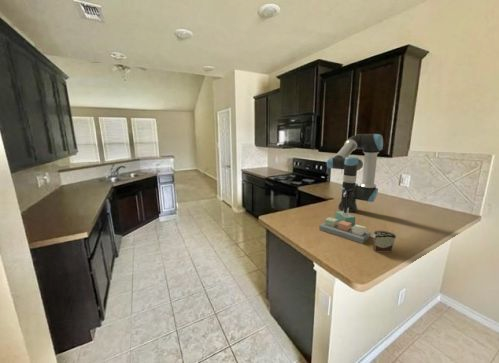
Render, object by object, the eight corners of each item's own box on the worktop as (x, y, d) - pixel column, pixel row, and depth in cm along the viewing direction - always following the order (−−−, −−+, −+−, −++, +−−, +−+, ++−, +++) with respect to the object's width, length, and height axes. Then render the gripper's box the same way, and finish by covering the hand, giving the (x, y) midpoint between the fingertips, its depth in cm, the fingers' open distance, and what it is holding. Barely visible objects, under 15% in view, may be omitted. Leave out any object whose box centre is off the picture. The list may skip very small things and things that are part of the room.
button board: (328, 223, 160) (328, 220, 160) (370, 236, 141) (370, 232, 140) (319, 229, 150) (319, 225, 150) (362, 243, 131) (363, 239, 131)
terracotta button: (341, 226, 149) (342, 220, 148) (350, 228, 145) (351, 223, 144) (337, 228, 145) (338, 222, 144) (347, 231, 141) (347, 225, 140)
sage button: (328, 222, 155) (329, 217, 155) (337, 224, 151) (337, 219, 150) (325, 224, 151) (325, 219, 150) (333, 227, 147) (333, 221, 146)
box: (345, 227, 154) (346, 217, 153) (334, 220, 167) (334, 211, 166) (354, 226, 156) (355, 216, 154) (342, 219, 169) (343, 210, 167)
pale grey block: (355, 230, 143) (356, 224, 142) (365, 233, 139) (366, 227, 138) (351, 232, 139) (352, 227, 138) (361, 235, 135) (362, 229, 134)
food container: (386, 245, 129) (389, 230, 127) (394, 251, 123) (396, 234, 121) (366, 246, 129) (368, 230, 126) (372, 251, 123) (374, 235, 120)
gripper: (347, 179, 146) (343, 213, 150) (338, 182, 137) (335, 218, 141) (359, 181, 140) (355, 216, 145) (351, 184, 131) (347, 221, 136)
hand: (345, 217), depth 143 cm, fingers closed
